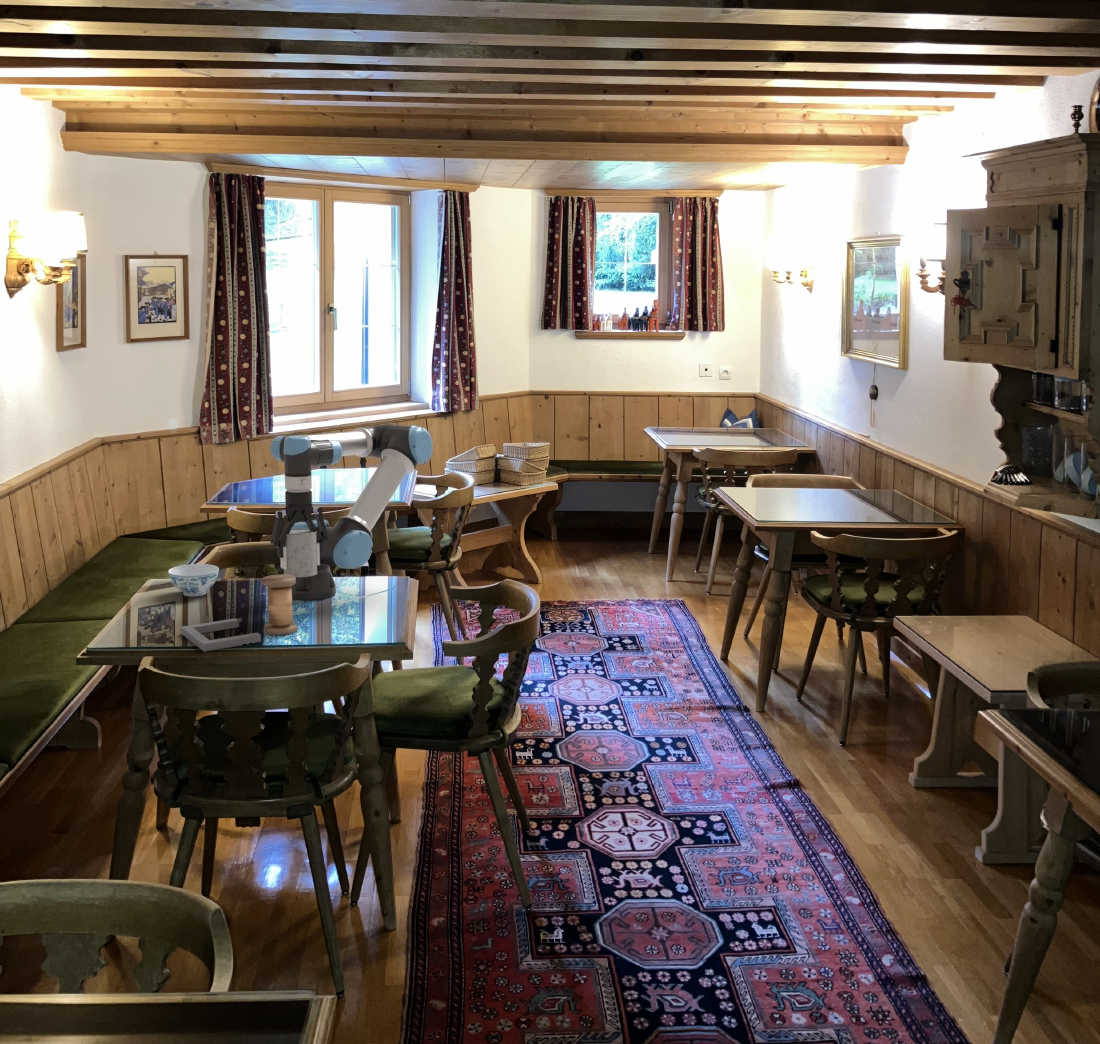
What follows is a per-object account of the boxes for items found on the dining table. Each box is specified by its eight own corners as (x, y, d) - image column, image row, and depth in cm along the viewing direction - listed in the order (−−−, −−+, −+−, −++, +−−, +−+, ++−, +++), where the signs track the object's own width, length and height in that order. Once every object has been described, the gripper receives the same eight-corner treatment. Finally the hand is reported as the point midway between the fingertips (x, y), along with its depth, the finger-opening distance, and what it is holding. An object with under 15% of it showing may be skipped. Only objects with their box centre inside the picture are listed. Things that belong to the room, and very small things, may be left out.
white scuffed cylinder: (323, 571, 339) (323, 530, 337) (304, 578, 331) (303, 536, 329) (296, 568, 343) (295, 527, 341) (277, 575, 335) (275, 533, 332)
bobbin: (259, 629, 324) (257, 577, 321) (289, 624, 329) (288, 572, 326) (271, 637, 316) (269, 583, 314) (302, 632, 322) (300, 579, 319)
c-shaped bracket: (181, 633, 319) (180, 626, 318) (235, 625, 327) (235, 618, 327) (204, 651, 303) (203, 644, 303) (261, 642, 312) (260, 634, 312)
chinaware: (200, 602, 351) (198, 577, 349) (159, 597, 356) (157, 572, 355) (229, 590, 365) (228, 566, 363) (190, 585, 370) (188, 562, 368)
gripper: (266, 495, 323) (269, 573, 327) (339, 488, 336) (341, 564, 340) (256, 491, 329) (258, 568, 333) (328, 485, 342) (329, 559, 346)
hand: (300, 566), depth 337 cm, fingers closed on white scuffed cylinder, 9 cm apart
